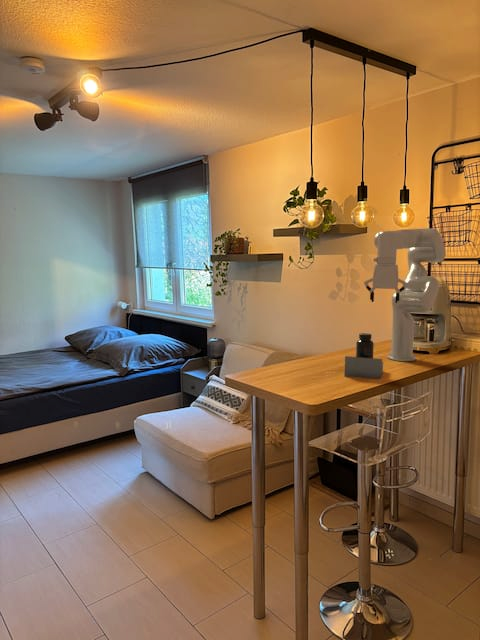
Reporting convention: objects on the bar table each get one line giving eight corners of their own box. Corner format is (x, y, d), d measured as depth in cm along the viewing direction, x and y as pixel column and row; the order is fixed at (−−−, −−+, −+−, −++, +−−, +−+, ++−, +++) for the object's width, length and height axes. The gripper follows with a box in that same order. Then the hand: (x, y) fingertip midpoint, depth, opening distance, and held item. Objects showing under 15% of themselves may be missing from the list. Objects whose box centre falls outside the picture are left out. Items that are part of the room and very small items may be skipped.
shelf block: (348, 368, 198) (349, 349, 197) (382, 371, 193) (383, 352, 192) (344, 376, 185) (345, 356, 184) (380, 379, 180) (382, 359, 179)
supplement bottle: (374, 362, 191) (375, 333, 190) (371, 365, 185) (372, 335, 184) (357, 360, 194) (358, 332, 193) (353, 363, 188) (355, 334, 187)
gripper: (364, 261, 192) (362, 302, 195) (408, 261, 187) (406, 303, 189) (365, 260, 199) (364, 300, 202) (408, 261, 194) (406, 302, 196)
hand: (384, 302), depth 195 cm, fingers open, 9 cm apart
